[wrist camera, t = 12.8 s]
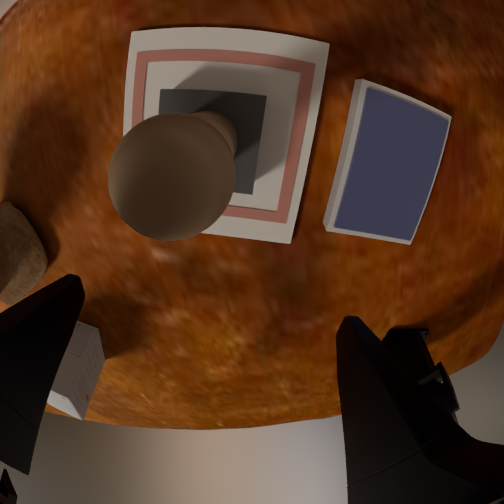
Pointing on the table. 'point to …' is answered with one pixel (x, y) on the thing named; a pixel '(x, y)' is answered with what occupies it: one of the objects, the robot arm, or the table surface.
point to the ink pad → (385, 164)
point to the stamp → (186, 161)
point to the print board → (244, 81)
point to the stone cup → (18, 255)
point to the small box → (78, 371)
